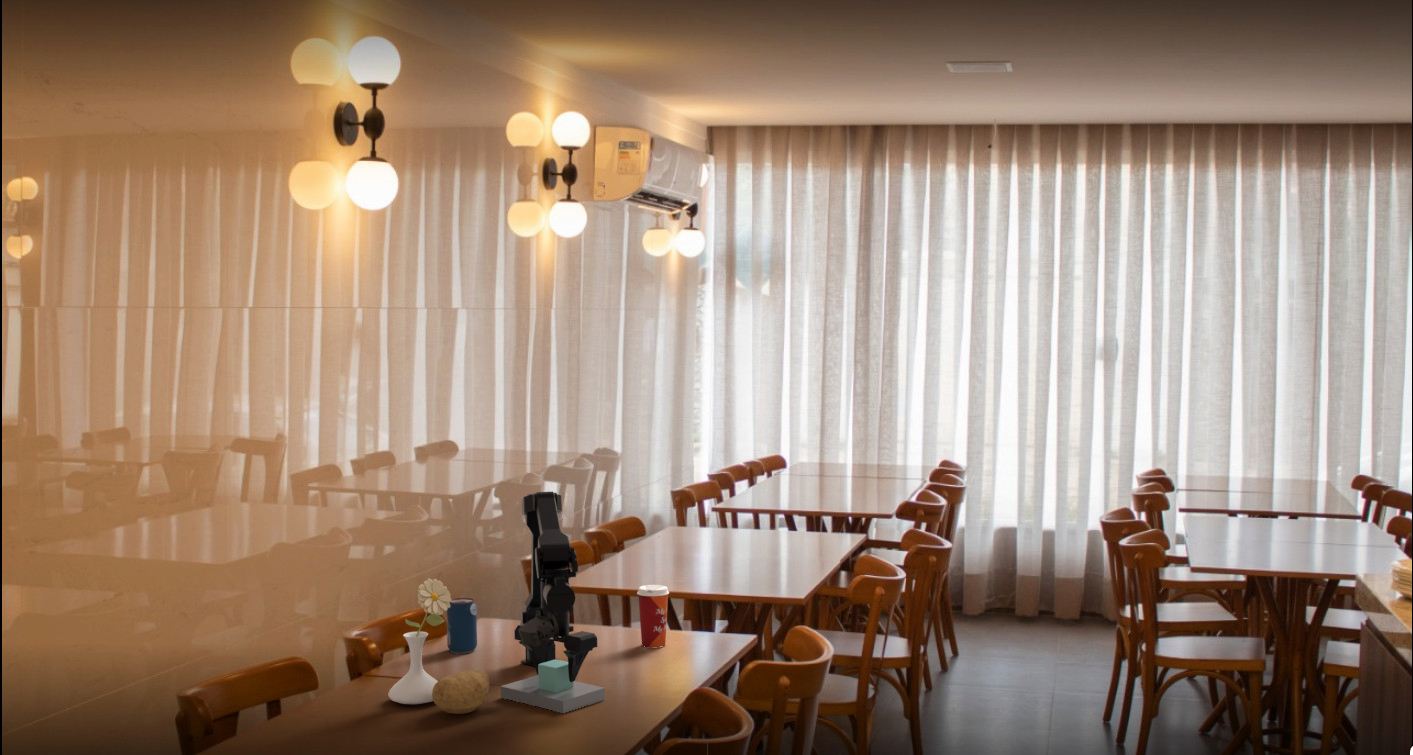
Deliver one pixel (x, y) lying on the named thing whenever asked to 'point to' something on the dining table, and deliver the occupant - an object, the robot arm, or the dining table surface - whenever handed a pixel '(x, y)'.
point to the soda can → (462, 625)
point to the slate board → (553, 695)
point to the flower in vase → (421, 646)
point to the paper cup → (653, 614)
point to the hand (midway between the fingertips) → (555, 678)
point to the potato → (461, 691)
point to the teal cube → (554, 676)
